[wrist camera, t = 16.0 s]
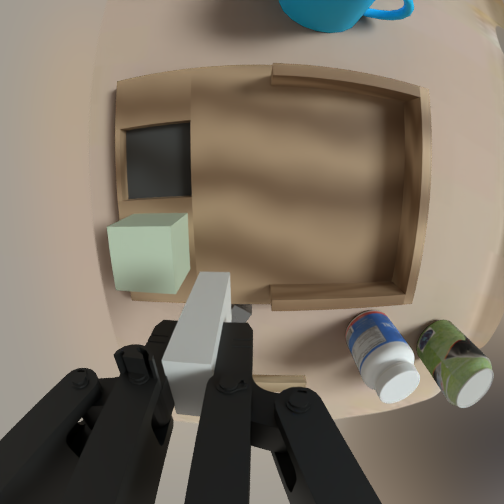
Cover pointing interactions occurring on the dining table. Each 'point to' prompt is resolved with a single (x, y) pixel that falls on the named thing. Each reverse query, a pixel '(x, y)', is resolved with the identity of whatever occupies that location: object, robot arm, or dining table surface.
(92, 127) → the dining table surface
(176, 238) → the block
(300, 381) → the dowel
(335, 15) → the mug
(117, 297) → the dining table surface
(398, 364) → the pill bottle
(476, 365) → the beverage can
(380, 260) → the cubby deck
